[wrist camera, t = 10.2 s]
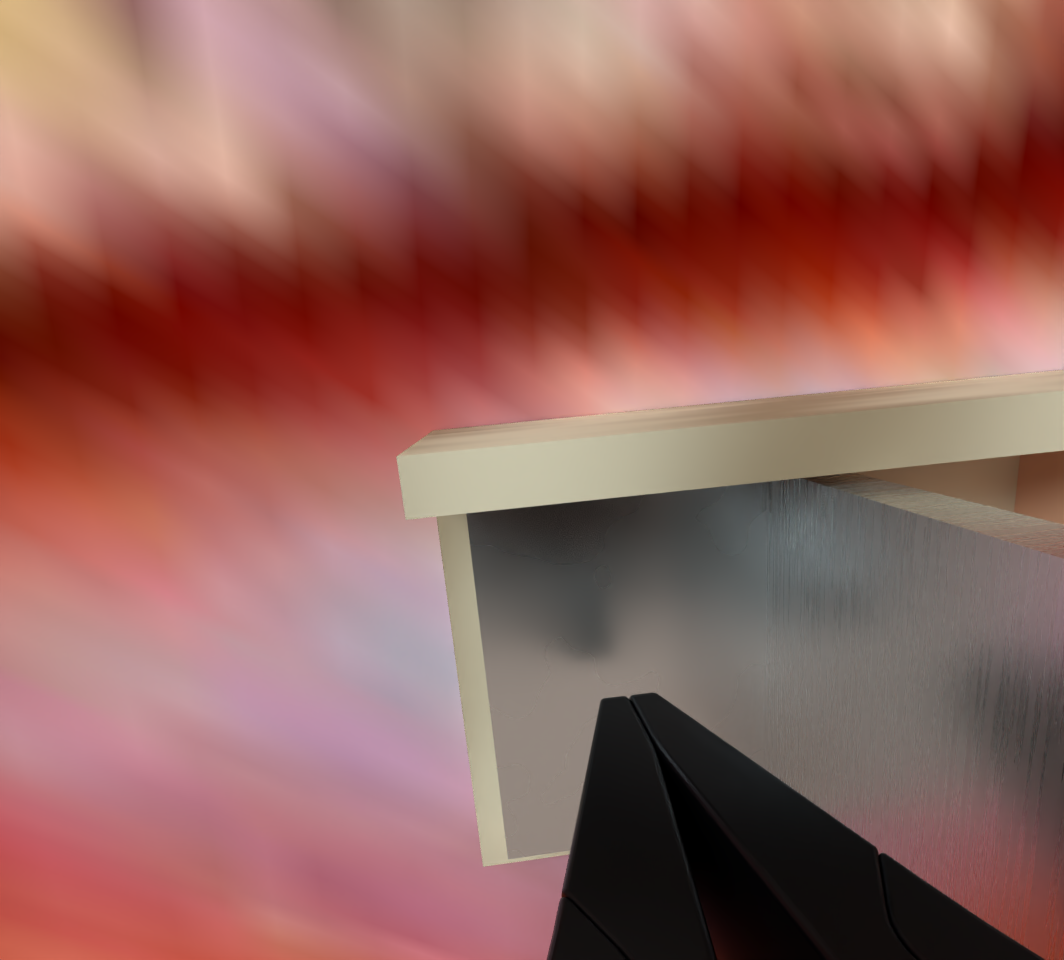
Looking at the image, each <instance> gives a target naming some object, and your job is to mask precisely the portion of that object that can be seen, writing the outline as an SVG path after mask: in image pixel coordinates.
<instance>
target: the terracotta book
mask: <svg viewBox="0 0 1064 960" xmlns="http://www.w3.org/2000/svg"><path fill="white" fill-rule="evenodd" d="M1014 512H1015V513H1019V514H1023V515H1027V516H1031V517H1035V518H1039V519H1043V520H1047V521H1051V522H1055V523H1059V524H1064V450H1063V451H1054V452H1044V453H1035V454H1025V455H1020V461H1019V470H1018V479H1017V489H1016V498H1015V507H1014Z"/></svg>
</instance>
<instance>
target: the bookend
mask: <svg viewBox="0 0 1064 960" xmlns="http://www.w3.org/2000/svg"><path fill="white" fill-rule="evenodd" d="M466 516H467V524H468V532H469V540H470V549H471V557H472V565H473V574H474V582H475V590H476V598H477V607H478V615H479V623H480V632H481V640H482V648H483V656H484V665H485V673H486V681H487V690H488V698H489V706H490V714H491V723H492V731H493V739H494V748H495V756H496V764H497V772H498V781H499V789H500V797H501V805H502V814H503V822H504V830H505V839H506V847H507V855H508V859H515V858H522V857H529V856H536V855H543V854H550V853H557V852H564V851H570V849H571V844H572V839H573V834H574V829H575V824H576V819H577V814H578V809H579V804H580V799H581V794H582V789H583V784H584V779H585V775H586V770H587V765H588V760H589V755H590V750H591V745H592V740H593V735H594V730H595V725H596V720H597V715H598V710H599V705H600V701H601V700H602V699H604V698H610V697H618V696H626V697H628V699H629V697H630V696H631V695H635V694H643V693H651V692H654V693H657V694H659V695H660V696H661V697H663V698H664V699H666V700H667V701H669V702H670V703H671V704H673V705H674V706H676V707H677V708H679V709H680V710H681V711H683V712H684V713H686V714H687V715H689V716H690V717H691V718H693V719H694V720H696V721H697V722H699V723H700V724H701V725H703V726H704V727H706V728H707V729H709V730H710V731H711V732H713V733H714V734H716V735H717V736H719V737H720V738H721V739H723V740H724V741H726V742H727V743H729V744H730V745H731V746H733V747H734V748H736V749H737V750H739V751H740V752H741V753H743V754H744V755H746V756H747V757H748V758H750V759H751V760H753V761H754V762H756V763H757V764H758V765H760V766H761V767H763V768H764V769H766V770H767V771H768V772H770V773H771V774H773V775H774V776H776V777H777V778H778V779H780V780H781V781H783V782H784V783H786V784H787V785H788V786H790V787H791V788H793V789H794V790H796V791H797V792H798V793H800V794H801V795H803V796H804V797H806V798H807V799H808V800H810V801H811V802H813V803H814V804H816V805H817V806H818V807H820V808H821V809H823V810H824V811H826V812H827V813H828V814H830V815H831V816H833V817H834V818H836V819H837V820H838V821H840V822H841V823H843V824H844V825H845V826H847V827H848V828H850V829H851V830H853V831H854V832H855V833H857V834H858V835H860V836H861V837H863V838H864V839H865V840H867V841H868V842H870V843H871V844H873V845H874V846H875V847H876V848H877V850H878V853H879V854H880V853H886V854H887V855H889V856H890V857H892V858H893V859H894V860H896V861H897V862H899V863H900V864H902V865H903V866H904V867H906V868H907V869H909V870H910V871H912V872H913V873H914V874H916V875H917V876H919V877H920V878H922V879H923V880H924V881H926V882H927V883H929V884H930V885H932V886H933V887H935V888H936V889H938V890H939V891H941V892H942V893H944V894H945V895H947V896H948V897H950V898H951V899H953V900H954V901H956V902H957V903H959V904H960V905H961V906H963V907H964V908H966V909H967V910H969V911H970V912H972V913H973V914H975V915H976V916H978V917H979V918H981V919H982V920H984V921H985V922H987V923H988V924H990V925H991V926H993V927H995V928H996V929H998V930H999V931H1001V932H1002V933H1004V934H1006V935H1007V936H1009V937H1010V938H1012V939H1014V940H1015V941H1017V942H1018V943H1020V944H1021V945H1023V946H1025V947H1026V948H1028V949H1029V950H1031V951H1032V952H1034V953H1036V954H1037V955H1039V956H1040V957H1042V958H1044V959H1045V960H1064V524H1059V523H1055V522H1051V521H1047V520H1043V519H1039V518H1035V517H1031V516H1027V515H1023V514H1019V513H1015V512H1011V511H1007V510H1002V509H998V508H994V507H990V506H986V505H982V504H978V503H974V502H970V501H966V500H962V499H958V498H954V497H950V496H945V495H941V494H937V493H933V492H929V491H925V490H921V489H917V488H913V487H909V486H905V485H901V484H897V483H893V482H888V481H884V480H880V479H876V478H872V477H868V476H864V475H860V474H856V473H845V474H835V475H826V476H816V477H807V478H798V479H788V480H779V481H769V482H760V483H750V484H741V485H731V486H722V487H712V488H703V489H693V490H684V491H674V492H665V493H655V494H646V495H636V496H627V497H617V498H608V499H598V500H589V501H579V502H570V503H560V504H551V505H541V506H532V507H522V508H513V509H503V510H494V511H484V512H475V513H466Z"/></svg>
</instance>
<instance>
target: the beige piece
mask: <svg viewBox="0 0 1064 960" xmlns="http://www.w3.org/2000/svg"><path fill="white" fill-rule="evenodd" d="M1063 450H1064V370H1057V371H1046V372H1036V373H1025V374H1015V375H1005V376H994V377H984V378H974V379H963V380H953V381H942V382H932V383H922V384H911V385H901V386H890V387H880V388H870V389H859V390H849V391H839V392H828V393H818V394H807V395H797V396H787V397H776V398H766V399H755V400H745V401H735V402H724V403H714V404H704V405H693V406H683V407H672V408H662V409H652V410H641V411H631V412H621V413H610V414H600V415H589V416H579V417H569V418H558V419H548V420H537V421H527V422H517V423H506V424H496V425H486V426H475V427H465V428H454V429H444V430H434V431H432V432H430V433H429V434H428V435H426V436H425V437H423V438H422V439H421V440H419V441H418V442H416V443H415V444H414V445H412V446H411V447H409V448H408V449H406V450H405V451H404V452H402V453H401V454H399V455H398V456H397V464H398V470H399V477H400V484H401V491H402V498H403V505H404V511H405V518H406V520H408V519H418V518H427V517H437V524H438V531H439V539H440V546H441V554H442V561H443V569H444V576H445V584H446V591H447V599H448V606H449V614H450V621H451V629H452V636H453V644H454V651H455V659H456V666H457V674H458V681H459V689H460V697H461V704H462V712H463V719H464V727H465V734H466V742H467V749H468V757H469V764H470V772H471V779H472V787H473V794H474V802H475V809H476V817H477V824H478V832H479V839H480V847H481V854H482V862H483V867H485V866H492V865H499V864H506V863H513V862H520V861H527V860H534V859H541V858H548V857H555V856H562V855H569V854H570V851H564V852H557V853H550V854H543V855H536V856H529V857H522V858H515V859H508V855H507V847H506V839H505V830H504V822H503V814H502V805H501V797H500V789H499V781H498V772H497V764H496V756H495V748H494V739H493V731H492V723H491V714H490V706H489V698H488V690H487V681H486V673H485V665H484V656H483V648H482V640H481V632H480V623H479V615H478V607H477V598H476V590H475V582H474V574H473V565H472V557H471V549H470V540H469V532H468V524H467V516H466V513H475V512H484V511H494V510H503V509H513V508H522V507H532V506H541V505H551V504H560V503H570V502H579V501H589V500H598V499H608V498H617V497H627V496H636V495H646V494H655V493H665V492H674V491H684V490H693V489H703V488H712V487H722V486H731V485H741V484H750V483H760V482H769V481H779V480H788V479H798V478H807V477H816V476H826V475H835V474H845V473H856V474H860V475H864V476H868V477H872V478H876V479H880V480H884V481H888V482H893V483H897V484H901V485H905V486H909V487H913V488H917V489H921V490H925V491H929V492H933V493H937V494H941V495H945V496H950V497H954V498H958V499H962V500H966V501H970V502H974V503H978V504H982V505H986V506H990V507H994V508H998V509H1002V510H1007V511H1011V512H1014V507H1015V498H1016V489H1017V479H1018V470H1019V461H1020V455H1025V454H1035V453H1044V452H1054V451H1063Z"/></svg>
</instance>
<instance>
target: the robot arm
mask: <svg viewBox="0 0 1064 960" xmlns="http://www.w3.org/2000/svg"><path fill="white" fill-rule="evenodd" d="M547 960H1045V959H1044V958H1042V957H1040V956H1039V955H1037V954H1036V953H1034V952H1032V951H1031V950H1029V949H1028V948H1026V947H1025V946H1023V945H1021V944H1020V943H1018V942H1017V941H1015V940H1014V939H1012V938H1010V937H1009V936H1007V935H1006V934H1004V933H1002V932H1001V931H999V930H998V929H996V928H995V927H993V926H991V925H990V924H988V923H987V922H985V921H984V920H982V919H981V918H979V917H978V916H976V915H975V914H973V913H972V912H970V911H969V910H967V909H966V908H964V907H963V906H961V905H960V904H959V903H957V902H956V901H954V900H953V899H951V898H950V897H948V896H947V895H945V894H944V893H942V892H941V891H939V890H938V889H936V888H935V887H933V886H932V885H930V884H929V883H927V882H926V881H924V880H923V879H922V878H920V877H919V876H917V875H916V874H914V873H913V872H912V871H910V870H909V869H907V868H906V867H904V866H903V865H902V864H900V863H899V862H897V861H896V860H894V859H893V858H892V857H890V856H889V855H887V854H886V853H880V854H879V853H878V850H877V848H876V847H875V846H874V845H873V844H871V843H870V842H868V841H867V840H865V839H864V838H863V837H861V836H860V835H858V834H857V833H855V832H854V831H853V830H851V829H850V828H848V827H847V826H845V825H844V824H843V823H841V822H840V821H838V820H837V819H836V818H834V817H833V816H831V815H830V814H828V813H827V812H826V811H824V810H823V809H821V808H820V807H818V806H817V805H816V804H814V803H813V802H811V801H810V800H808V799H807V798H806V797H804V796H803V795H801V794H800V793H798V792H797V791H796V790H794V789H793V788H791V787H790V786H788V785H787V784H786V783H784V782H783V781H781V780H780V779H778V778H777V777H776V776H774V775H773V774H771V773H770V772H768V771H767V770H766V769H764V768H763V767H761V766H760V765H758V764H757V763H756V762H754V761H753V760H751V759H750V758H748V757H747V756H746V755H744V754H743V753H741V752H740V751H739V750H737V749H736V748H734V747H733V746H731V745H730V744H729V743H727V742H726V741H724V740H723V739H721V738H720V737H719V736H717V735H716V734H714V733H713V732H711V731H710V730H709V729H707V728H706V727H704V726H703V725H701V724H700V723H699V722H697V721H696V720H694V719H693V718H691V717H690V716H689V715H687V714H686V713H684V712H683V711H681V710H680V709H679V708H677V707H676V706H674V705H673V704H671V703H670V702H669V701H667V700H666V699H664V698H663V697H661V696H660V695H659V694H657V693H654V692H651V693H643V694H635V695H631V696H630V697H629V699H628V697H626V696H618V697H610V698H604V699H602V700H601V701H600V705H599V710H598V715H597V720H596V725H595V730H594V735H593V740H592V745H591V750H590V755H589V760H588V765H587V770H586V775H585V779H584V784H583V789H582V794H581V799H580V804H579V809H578V814H577V819H576V824H575V829H574V834H573V839H572V844H571V849H570V854H569V859H568V864H567V869H566V874H565V879H564V884H563V889H562V898H561V899H560V902H559V907H558V911H557V916H556V921H555V926H554V931H553V936H552V940H551V944H550V948H549V953H548V957H547Z"/></svg>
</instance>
